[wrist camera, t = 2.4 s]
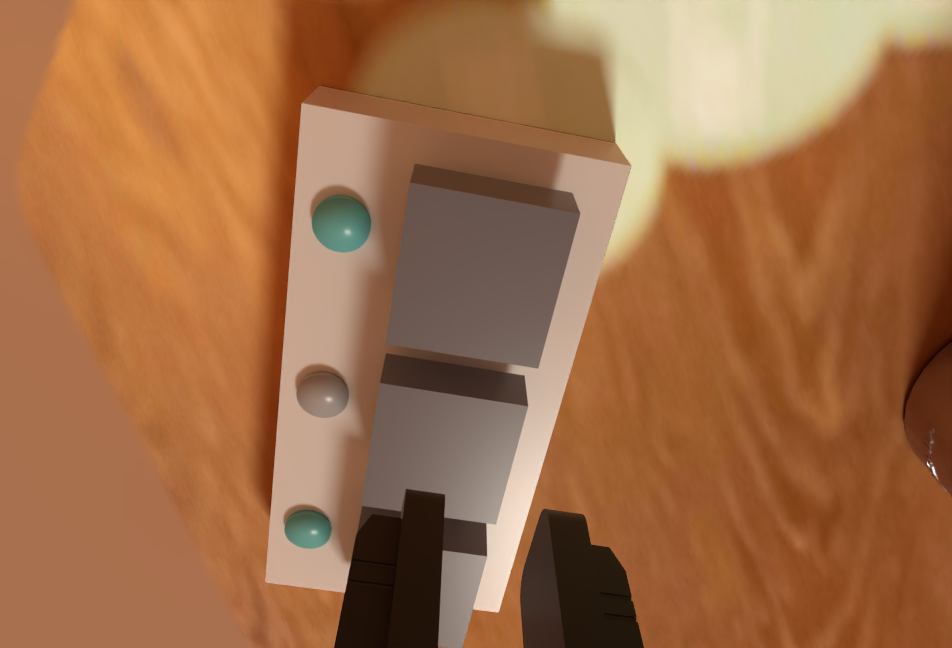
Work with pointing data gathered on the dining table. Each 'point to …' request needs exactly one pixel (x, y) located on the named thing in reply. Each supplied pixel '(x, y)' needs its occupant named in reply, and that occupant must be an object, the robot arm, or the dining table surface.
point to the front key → (480, 266)
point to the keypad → (369, 304)
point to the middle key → (444, 436)
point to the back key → (454, 573)
